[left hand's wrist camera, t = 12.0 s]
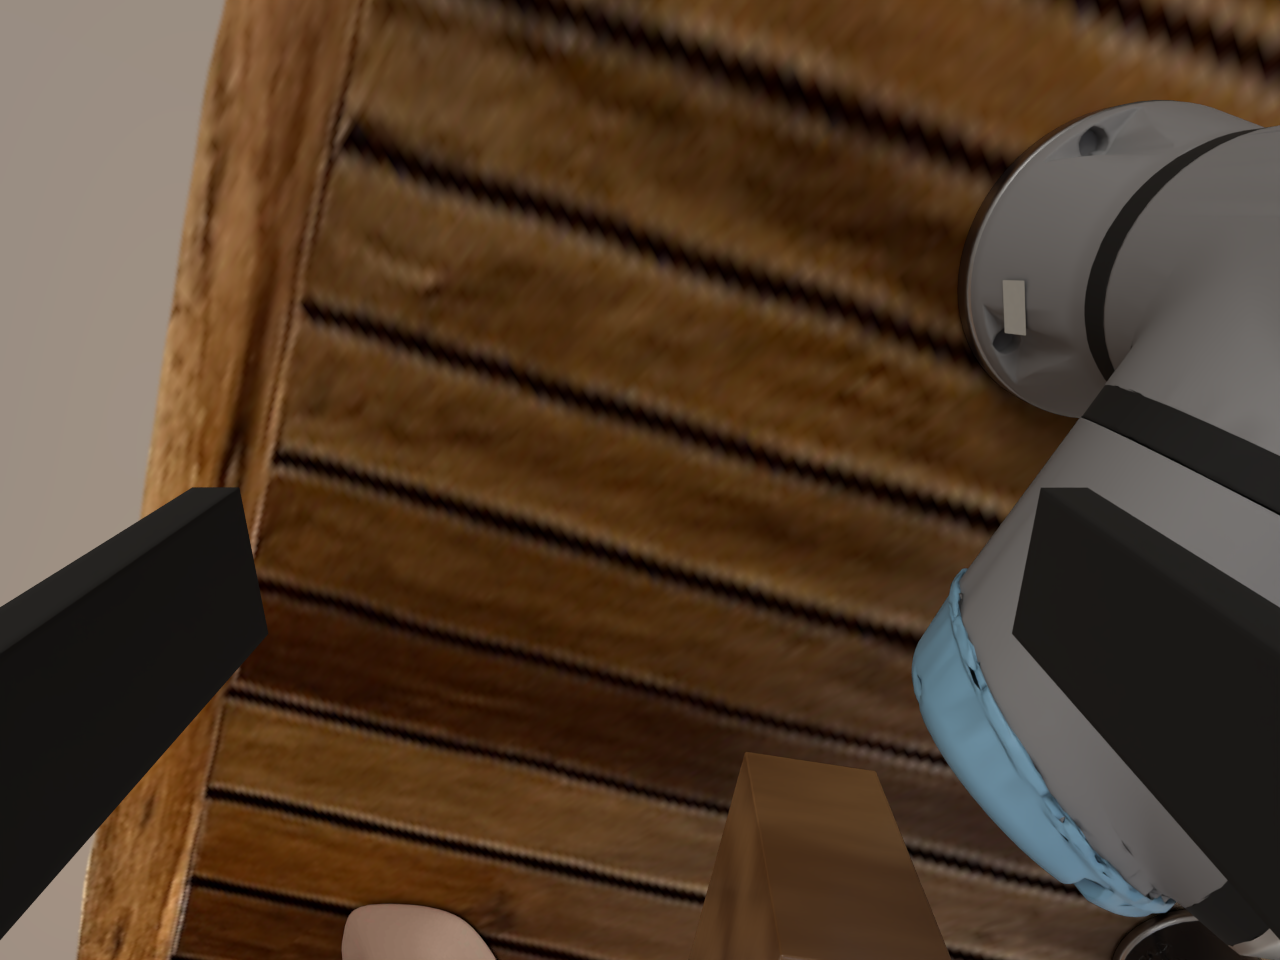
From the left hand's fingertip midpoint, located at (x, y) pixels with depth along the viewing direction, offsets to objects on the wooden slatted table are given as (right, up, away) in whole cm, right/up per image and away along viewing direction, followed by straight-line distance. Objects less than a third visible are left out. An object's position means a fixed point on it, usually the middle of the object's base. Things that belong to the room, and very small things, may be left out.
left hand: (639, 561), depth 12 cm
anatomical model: (-16, -35, +43) cm, 58 cm away
